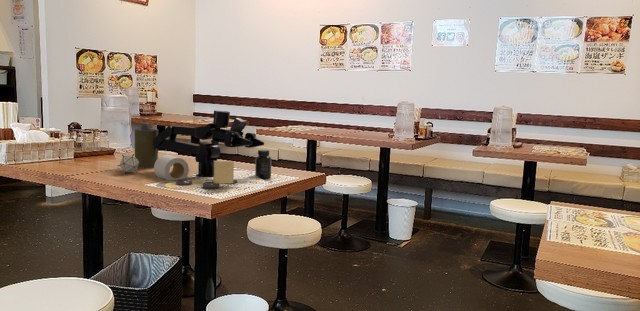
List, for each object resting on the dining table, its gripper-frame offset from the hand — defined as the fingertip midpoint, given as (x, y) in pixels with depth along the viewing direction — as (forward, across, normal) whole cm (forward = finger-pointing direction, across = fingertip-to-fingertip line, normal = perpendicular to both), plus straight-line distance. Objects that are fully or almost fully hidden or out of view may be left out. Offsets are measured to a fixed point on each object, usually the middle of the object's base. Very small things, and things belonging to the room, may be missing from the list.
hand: (258, 143), depth 197 cm
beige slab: (-1, -22, +17) cm, 28 cm away
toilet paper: (-27, -16, +21) cm, 38 cm away
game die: (-52, -13, +23) cm, 58 cm away
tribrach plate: (-9, -17, +19) cm, 27 cm away
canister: (-58, +4, +22) cm, 63 cm away
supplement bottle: (-2, +12, +15) cm, 20 cm away
